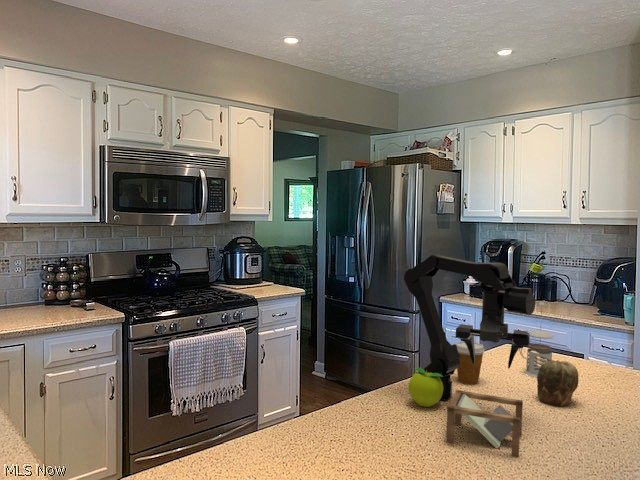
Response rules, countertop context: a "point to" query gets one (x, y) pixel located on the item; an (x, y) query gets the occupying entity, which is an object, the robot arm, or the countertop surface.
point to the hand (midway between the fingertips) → (491, 365)
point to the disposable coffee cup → (469, 363)
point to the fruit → (425, 388)
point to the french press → (541, 349)
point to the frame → (485, 415)
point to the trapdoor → (477, 420)
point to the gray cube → (499, 425)
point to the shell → (557, 382)
